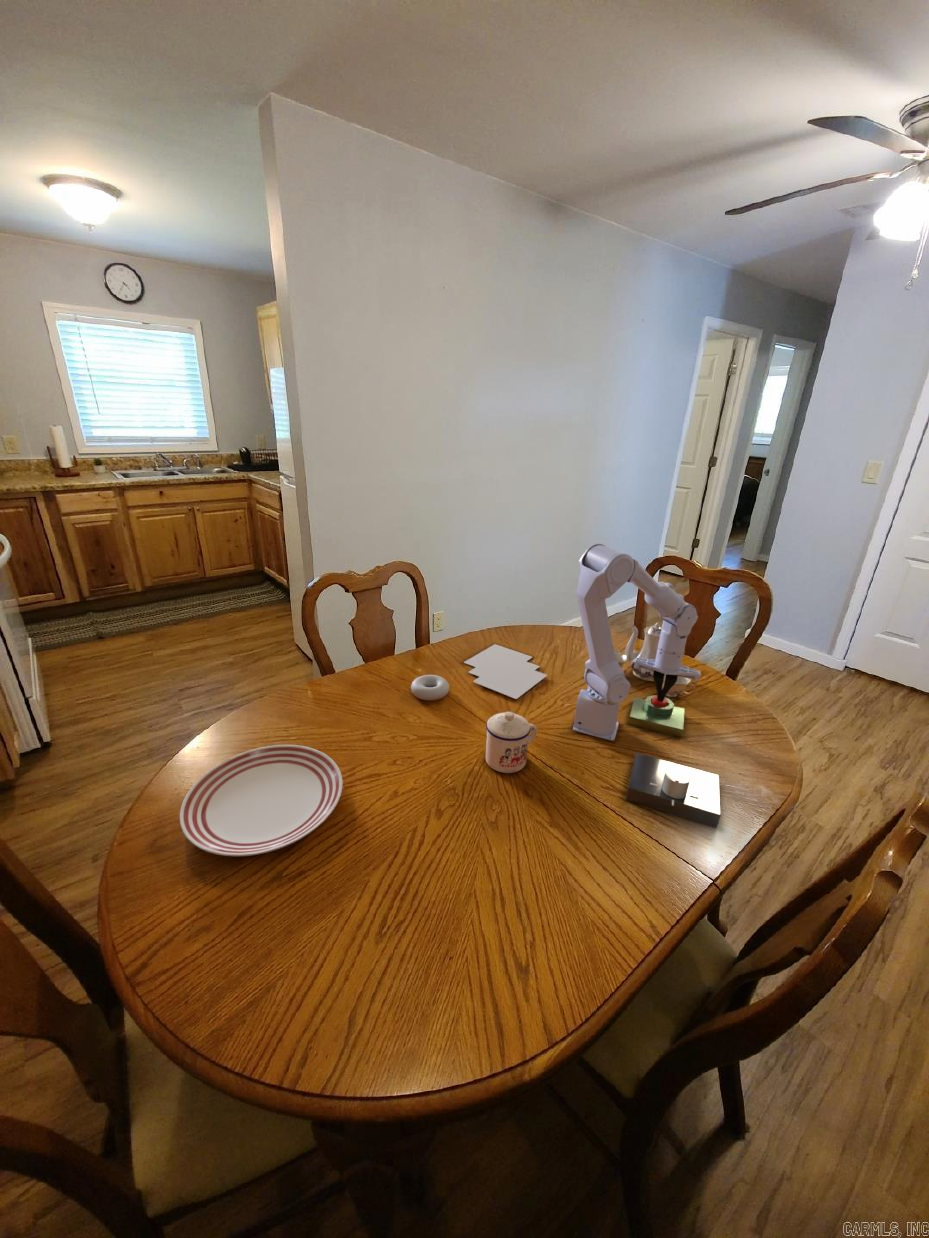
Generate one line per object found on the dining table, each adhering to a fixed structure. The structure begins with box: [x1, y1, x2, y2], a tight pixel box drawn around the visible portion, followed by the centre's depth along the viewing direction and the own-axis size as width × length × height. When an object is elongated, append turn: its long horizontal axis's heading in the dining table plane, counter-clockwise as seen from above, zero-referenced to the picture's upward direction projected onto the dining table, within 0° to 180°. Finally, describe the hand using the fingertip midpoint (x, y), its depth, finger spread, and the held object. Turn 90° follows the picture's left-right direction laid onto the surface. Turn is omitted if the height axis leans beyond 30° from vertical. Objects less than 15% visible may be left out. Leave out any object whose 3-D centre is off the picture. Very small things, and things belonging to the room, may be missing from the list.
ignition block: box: [627, 694, 686, 738], centre depth 122 cm, size 12×10×4 cm
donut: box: [410, 674, 450, 702], centre depth 130 cm, size 10×4×10 cm
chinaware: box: [614, 622, 696, 698], centre depth 139 cm, size 28×17×17 cm, turn 55°
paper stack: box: [463, 643, 548, 700], centre depth 143 cm, size 23×25×1 cm
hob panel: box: [625, 752, 722, 829], centre depth 97 cm, size 16×13×3 cm
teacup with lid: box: [485, 711, 538, 774], centre depth 104 cm, size 12×9×12 cm
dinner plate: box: [179, 744, 344, 857], centre depth 91 cm, size 27×27×3 cm
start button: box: [652, 694, 669, 707], centre depth 122 cm, size 4×4×2 cm
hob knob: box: [662, 768, 690, 799], centre depth 94 cm, size 4×4×4 cm
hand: (660, 699), depth 122 cm, fingers closed, pressing on start button
